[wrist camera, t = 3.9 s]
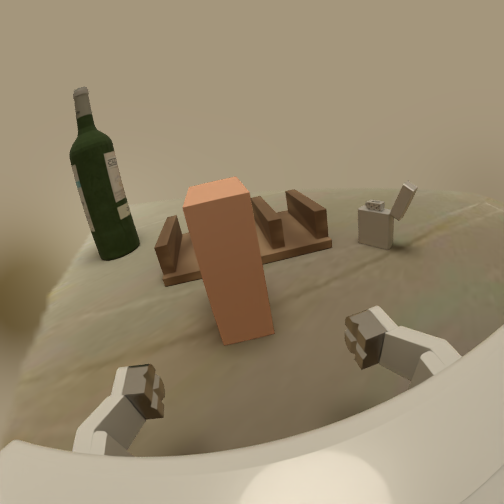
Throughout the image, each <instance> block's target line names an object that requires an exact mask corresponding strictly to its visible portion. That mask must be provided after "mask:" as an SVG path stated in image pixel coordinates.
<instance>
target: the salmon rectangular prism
mask: <svg viewBox="0 0 504 504" xmlns="http://www.w3.org/2000/svg"><path fill="white" fill-rule="evenodd" d="M183 211H184V215H185V218H186V222H187V226H188V230H189V233H190V237H191V241H192V244H193V248H194V251H195V255H196V258H197V262H198V265H199V269H200V272H201V275H202V279H203V282H204V285H205V288H206V292H207V295H208V298H209V301H210V304H211V308H212V311H213V314H214V317H215V320H216V323H217V326H218V329H219V332H220V335H221V338H222V341H223V344H224V346H225V345H229V344H234V343H238V342H243V341H247V340H251V339H255V338H259V337H263V336H267V335H271V334H275V333H274V328H273V322H272V316H271V310H270V305H269V299H268V293H267V287H266V282H265V276H264V270H263V265H262V259H261V254H260V248H259V242H258V237H257V231H256V226H255V220H254V215H253V209H252V204H251V198H250V193H249V191H248V190H247V189H246V188H245V187H244V185H243V184H242V183H241V182H240V180H239V179H238V178H237V177H231V178H227V179H222V180H217V181H213V182H209V183H204V184H200V185H196V186H192V187H189V189H188V192H187V195H186V198H185V202H184V205H183Z"/></svg>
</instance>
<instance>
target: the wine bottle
mask: <svg viewBox="0 0 504 504" xmlns="http://www.w3.org/2000/svg"><path fill="white" fill-rule="evenodd" d="M73 97H74V101H75V110H76V119H77V126H78V137H77V139H76V140H75V142H74V144H73V145H72V148H71V150H70V161H71V165H72V169H73V173H74V177H75V181H76V185H77V188H78V192H79V195H80V198H81V202H82V205H83V209H84V212H85V214H86V218H87V221H88V224H89V227H90V230H91V233H92V235H93V238H94V241H95V244H96V246H97V249H98V252H99V254H100V257H101V258H102V259H104V260H112V259H116V258H119V257H122V256H124V255H127V254H128V253H130V252H132V251H133V250H135V249H136V248H137V247H138V245H139V238H138V235H137V232H136V228H135V225H134V222H133V219H132V216H131V212H130V209H129V206H128V203H127V199H126V195H125V192H124V188H123V184H122V181H121V177H120V173H119V169H118V165H117V161H116V156H115V152H114V148H113V143H112V141H111V139H110V138H109V137H108V136H107V135H106V134H104V133H102V132H100V131H98V130H97V129H96V127H95V125H94V121H93V117H92V112H91V107H90V103H89V97H88V89H87V87H81V88H78V89H76V90H75V91H74V94H73Z"/></svg>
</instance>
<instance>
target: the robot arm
mask: <svg viewBox="0 0 504 504" xmlns="http://www.w3.org/2000/svg"><path fill="white" fill-rule="evenodd" d="M345 325H346V326H347V330H346V331H345V342H346V345H347V348H348V349H349V351H350V352H351V353H353V354H355V361H356V362H357V364H358V365H359V367H360V368H361V370H363V369H365V368H368V367H370V366H373V365H376V364H378V363H379V364H380V365H382V366H383V367H385V368H387V369H389V370H391V371H393V372H395V373H397V374H399V375H400V376H402V377H404V378H406V379H408V380H410V381H411V383H410V386H409V388H408V390H407V391H405V392H403V393H401V394H399V395H397V396H396V397H394V398H391V399H389V400H387V401H385V402H383V403H381V404H379V405H377V406H375V407H372V408H370V409H368V410H365V411H363V412H361V413H358V414H356V415H353V416H351V417H348V418H346V419H343V420H341V421H338V422H335V423H332V424H330V425H327V426H324V427H321V428H318V429H315V430H312V431H308V432H305V433H302V434H298V435H295V436H291V437H288V438H284V439H280V440H276V441H272V442H268V443H263V444H259V445H254V446H249V447H244V448H238V449H233V450H226V451H220V452H212V453H204V454H194V455H182V456H164V457H135V456H134V455H132V454H131V453H130V452H128V451H127V450H128V448H129V447H130V445H131V443H132V442H133V440H134V439H135V437H136V435H137V434H138V432H139V431H140V429H141V428H142V426H143V424H144V423H145V421H146V419H156V418H164V404H163V403H162V400H163V398H164V397H165V389H164V384H163V382H162V379H161V378H160V376H158V375H156V374H155V368H154V367H153V365H152V364H145V365H136V366H128V367H119V368H118V369H117V372H116V376H115V380H114V384H113V389H112V393H111V396H108V397H107V398H106V399H105V400H104V401H103V402H102V403H101V404H100V405H99V406H98V407H97V408H96V409H95V411H94V412H93V413H92V414H91V415H90V416H89V417H88V418H87V419H86V420H85V421H84V422H83V423H82V424H81V425H80V427H79V428H78V429H77V432H76V437H75V441H74V446H73V450H72V451H66V450H60V449H55V448H50V447H45V446H40V445H36V444H32V443H28V442H25V441H21V440H13V441H12V442H10V443H9V444H8V445H6V446H5V447H4V448H3V449H2V450H1V451H0V504H504V324H503V325H502V326H501V327H500V328H499V329H498V330H496V331H495V332H494V333H493V334H492V335H490V336H489V337H488V338H487V339H485V340H484V341H483V342H482V343H480V344H479V345H478V346H476V347H475V348H474V349H472V350H471V351H470V352H468V353H467V354H465V355H464V356H463V357H461V356H460V355H459V353H458V352H457V351H456V350H455V349H454V348H453V347H452V346H451V345H450V344H449V343H448V342H447V341H446V340H444V339H441V338H437V337H434V336H431V335H428V334H425V333H421V332H418V331H415V330H412V329H409V328H406V327H403V326H400V327H398V326H397V325H396V324H395V323H394V322H393V321H392V320H391V318H390V317H389V316H388V315H387V314H386V313H385V312H384V311H383V310H382V309H381V308H380V307H379V306H375V307H373V308H370V309H367V310H365V311H362V312H359V313H356V314H354V315H351V316H348V317H346V319H345Z"/></svg>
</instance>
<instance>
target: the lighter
mask: <svg viewBox="0 0 504 504" xmlns="http://www.w3.org/2000/svg"><path fill="white" fill-rule="evenodd" d="M417 188H418V187H417V186H416V185H414V184H413V183H411V182H409V181H407V182H405V183H404V184H403V186H402V188H401V191H400V193H399V195H398V197H397V199H396V201H395V203H394V205H393V207H392V210H390V209H384V201H377V200H370V201H367V202H366V203H365V205H366V206H365V205H364V206H362V207H360V208H358V228H359V243H361V244H366V245H370V246H374V247H378V248H382V249H386V250H388V249H389V248H390V247H391V246H392V245H393V228H394V218H395V219H397V220H398V221H399V220H400V219H402V218H403V216H404V214H405V212H406V211H407V209H408V207H409V205H410V203H411V201H412V199H413V197H414V195H415V193H416V190H417Z"/></svg>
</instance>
